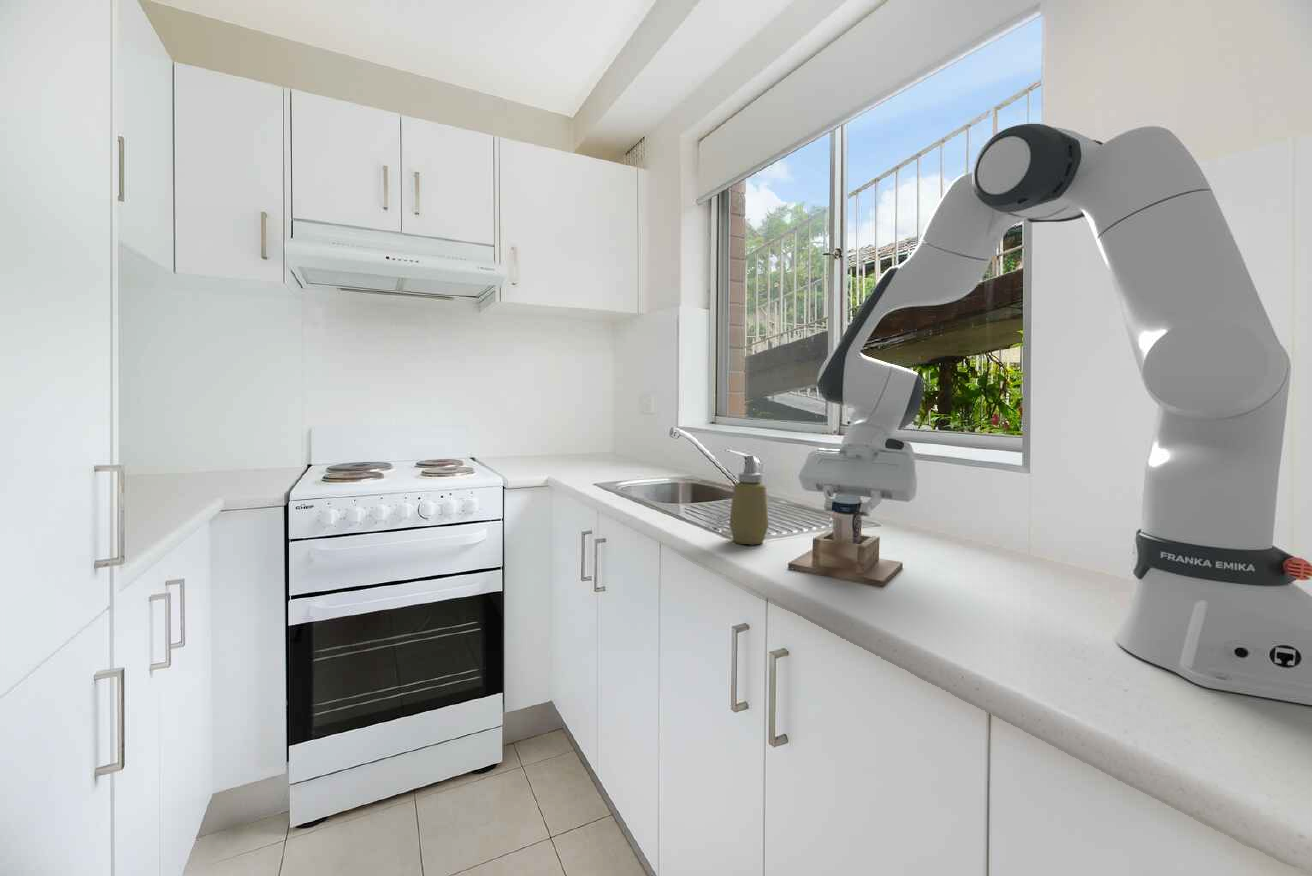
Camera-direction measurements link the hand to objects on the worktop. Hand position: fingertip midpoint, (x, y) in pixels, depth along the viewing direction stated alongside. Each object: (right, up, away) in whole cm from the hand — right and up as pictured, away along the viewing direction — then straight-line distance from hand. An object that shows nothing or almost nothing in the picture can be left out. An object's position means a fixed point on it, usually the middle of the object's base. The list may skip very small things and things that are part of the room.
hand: (846, 511), depth 100 cm
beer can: (0, -9, +1) cm, 9 cm away
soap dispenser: (-14, -9, +19) cm, 25 cm away
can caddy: (0, -10, +1) cm, 10 cm away
